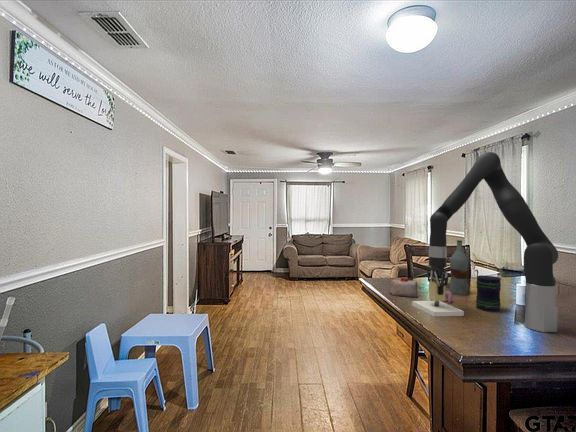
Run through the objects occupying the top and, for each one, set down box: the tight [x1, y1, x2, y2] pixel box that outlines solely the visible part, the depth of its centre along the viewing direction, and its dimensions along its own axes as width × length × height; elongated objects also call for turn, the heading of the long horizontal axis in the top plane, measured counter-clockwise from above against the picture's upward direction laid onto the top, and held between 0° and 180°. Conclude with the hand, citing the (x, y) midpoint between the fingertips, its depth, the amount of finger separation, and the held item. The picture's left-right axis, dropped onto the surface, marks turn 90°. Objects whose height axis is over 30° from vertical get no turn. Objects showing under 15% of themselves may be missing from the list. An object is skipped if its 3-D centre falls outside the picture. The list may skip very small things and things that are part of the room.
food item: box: [390, 276, 419, 298], centre depth 180 cm, size 14×8×10 cm, turn 71°
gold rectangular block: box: [428, 281, 447, 302], centre depth 152 cm, size 5×5×8 cm
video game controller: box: [430, 289, 454, 304], centre depth 170 cm, size 10×5×7 cm, turn 48°
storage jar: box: [475, 275, 502, 313], centre depth 156 cm, size 10×10×15 cm
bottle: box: [448, 239, 469, 296], centre depth 187 cm, size 9×9×30 cm
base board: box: [411, 300, 465, 318], centre depth 152 cm, size 18×14×2 cm
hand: (436, 293), depth 152 cm, fingers closed on gold rectangular block, 5 cm apart
